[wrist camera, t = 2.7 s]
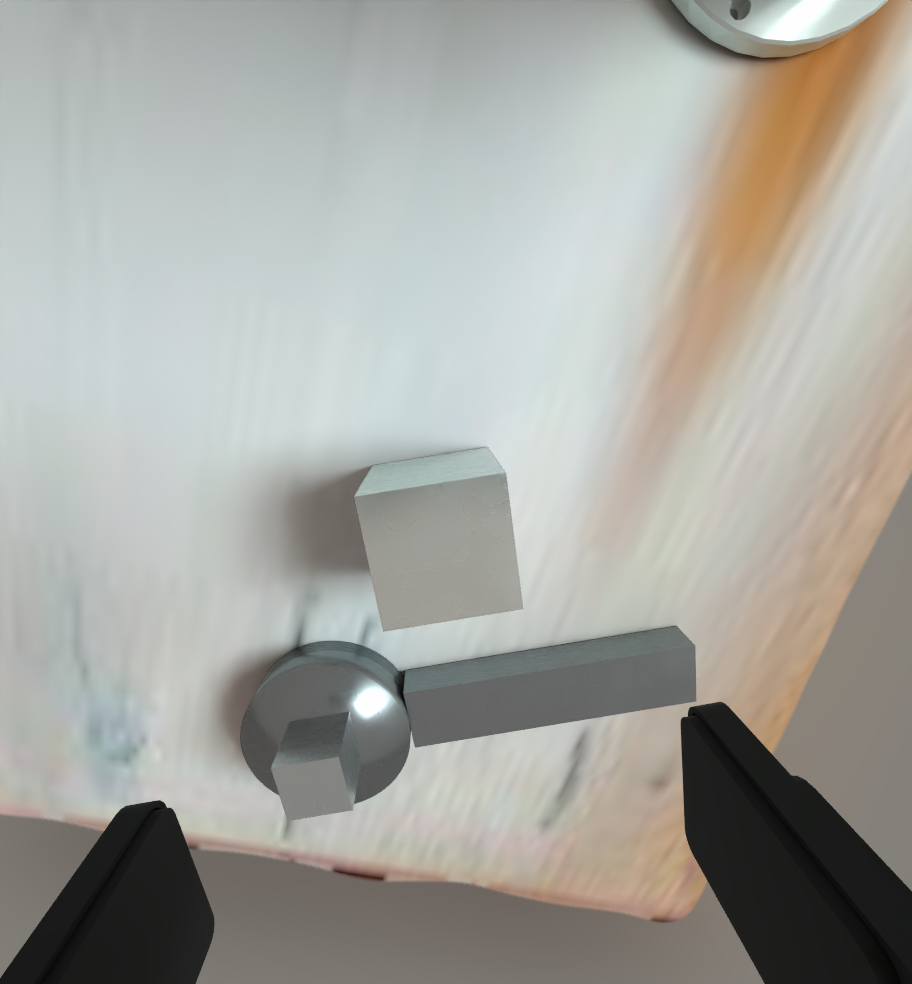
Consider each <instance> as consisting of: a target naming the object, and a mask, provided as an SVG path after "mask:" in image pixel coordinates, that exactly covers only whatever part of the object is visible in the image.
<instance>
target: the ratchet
mask: <svg viewBox="0 0 912 984" xmlns="http://www.w3.org/2000/svg"><path fill="white" fill-rule="evenodd" d="M695 701H696V663H695V645H694V644H693V643H692V642H691V641H690V640H689V639H688V638H687V636H686V635H685V634H684V633H683V632H682V631H681V630H680V629H679V628H678V627H677V626H674V627H668V628H662V629H655V630H649V631H643V632H637V633H631V634H625V635H619V636H612V637H606V638H600V639H594V640H588V641H582V642H576V643H569V644H563V645H557V646H551V647H545V648H539V649H533V650H526V651H520V652H514V653H508V654H502V655H496V656H490V657H484V658H477V659H471V660H465V661H459V662H453V663H447V664H441V665H434V666H428V667H422V668H416V669H410V670H405V680H404V678H403V676H402V675H401V673H400V672H399V671H398V670H397V668H396V667H395V666H394V665H393V664H392V663H391V662H389V661H388V660H387V659H386V658H384V657H383V656H382V655H380V654H379V653H377V652H375V651H373V650H371V649H369V648H366V647H363V646H361V645H357V644H353V643H349V642H341V641H325V642H317V643H312V644H308V645H305V646H302V647H299V648H297V649H295V650H293V651H291V652H289V653H288V654H286V655H285V656H283V657H282V658H280V659H279V660H278V661H277V662H276V663H275V664H274V665H273V666H272V667H271V668H270V670H269V671H268V672H267V674H266V676H265V677H264V679H263V681H262V682H261V684H260V686H259V688H258V690H257V692H256V694H255V695H254V697H253V699H252V701H251V703H250V705H249V707H248V708H247V711H246V713H245V715H244V718H243V721H242V725H241V734H240V739H241V747H242V751H243V755H244V758H245V760H246V762H247V764H248V766H249V768H250V769H251V771H252V772H253V774H254V775H255V776H256V777H257V779H258V780H259V781H260V782H262V783H263V784H264V785H265V786H266V787H267V788H269V789H270V790H271V791H273V792H274V793H276V794H278V795H279V796H280V799H281V802H282V805H283V808H284V811H285V814H286V817H287V821H290V820H296V819H302V818H308V817H314V816H320V815H326V814H332V813H338V812H344V811H351V810H353V806H354V804H356V803H359V802H362V801H364V800H367V799H369V798H371V797H373V796H375V795H376V794H378V793H379V792H381V791H382V790H384V789H385V788H386V787H387V786H389V785H390V784H391V783H392V782H393V781H394V780H395V779H396V777H397V776H398V774H399V773H400V772H401V770H402V768H403V766H404V764H405V762H406V759H407V757H408V753H409V748H410V735H411V731H412V736H413V741H414V745H415V747H421V746H427V745H433V744H439V743H445V742H451V741H457V740H463V739H469V738H476V737H482V736H488V735H494V734H500V733H506V732H512V731H518V730H524V729H530V728H536V727H543V726H549V725H555V724H561V723H567V722H573V721H579V720H585V719H591V718H597V717H603V716H609V715H616V714H622V713H628V712H634V711H640V710H646V709H652V708H658V707H664V706H670V705H676V704H682V703H689V702H695Z"/></svg>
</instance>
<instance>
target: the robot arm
mask: <svg viewBox="0 0 912 984" xmlns="http://www.w3.org/2000/svg"><path fill="white" fill-rule="evenodd" d="M671 1H672V2H673V3H674V4H675V6H676V7H677V8H678V9H679V10H680V12H681V13H682V14H683V15H684V17H685V18H686V19H687V20H688V22H689V23H690V24H692V25H693V26H694V27H695V28H697V29H698V30H699V31H700V32H702V33H703V34H704V35H705V36H707V37H708V38H709V39H710V40H712V41H714V42H716V43H718V44H720V45H722V46H724V47H726V48H728V49H730V50H733V51H735V52H738V53H742V54H747V55H752V56H757V57H762V58H766V57H790V56H794V55H798V54H801V53H805V52H809V51H813V50H816V49H819V48H821V47H823V46H825V45H827V44H829V43H831V42H833V41H835V40H837V39H839V38H841V37H843V36H844V35H846V34H847V33H848V32H850V31H851V30H852V29H854V28H855V27H856V26H858V25H859V24H860V23H862V22H863V21H864V20H866V19H867V18H868V17H870V16H871V15H872V14H874V13H875V12H876V11H877V10H878V9H879V8H880V7H882V6H883V5H884V4H885V3H886V2H887V1H888V0H671ZM681 743H682V768H683V793H684V817H685V833H686V837H687V841H688V844H689V846H690V849H691V851H692V853H693V855H694V857H695V859H696V861H697V863H698V864H699V866H700V868H701V870H702V872H703V873H704V875H705V877H706V879H707V881H708V882H709V884H710V886H711V888H712V889H713V891H714V893H715V895H716V897H717V898H718V900H719V902H720V904H721V906H722V908H723V909H724V911H725V913H726V914H727V916H728V918H729V920H730V922H731V923H732V925H733V927H734V929H735V931H736V933H737V934H738V936H739V938H740V940H741V942H742V943H743V945H744V947H745V949H746V951H747V952H748V954H749V956H750V958H751V960H752V961H753V963H754V965H755V967H756V969H757V970H758V972H759V974H760V976H761V977H762V979H763V981H764V983H765V984H912V891H911V890H910V889H909V888H908V887H907V886H906V885H905V884H904V883H903V882H902V881H901V880H900V879H899V877H898V876H897V875H896V874H895V873H894V872H893V871H892V870H891V869H890V868H889V867H888V866H887V865H886V864H885V863H884V861H883V860H882V859H881V858H880V857H879V856H878V855H877V854H876V853H875V852H874V851H873V850H872V849H871V848H870V847H869V846H868V844H867V843H866V842H865V841H864V840H863V839H862V838H861V837H860V836H859V835H858V834H857V833H856V832H855V831H854V830H853V829H852V827H851V826H850V825H849V824H848V823H847V822H846V821H845V820H844V819H843V818H842V817H841V816H840V815H839V814H838V813H837V812H836V810H835V809H834V808H833V807H832V806H831V805H830V804H829V803H828V802H827V801H826V800H825V799H824V798H823V797H822V796H821V794H820V793H818V791H817V790H816V789H815V788H813V786H812V785H810V784H809V783H808V782H807V781H806V780H804V779H802V778H800V777H798V776H791V775H790V774H789V773H788V772H787V770H786V769H785V768H784V767H783V766H782V765H781V764H780V763H779V762H778V761H777V759H776V758H775V757H774V756H773V755H772V754H771V753H770V752H769V751H768V750H767V748H766V747H765V746H764V745H763V744H762V743H761V742H760V741H759V740H758V739H757V738H756V736H755V735H754V734H753V733H752V732H751V731H750V730H749V729H748V728H747V727H746V725H745V724H744V723H743V722H742V721H741V720H740V719H739V718H738V717H737V716H736V714H735V713H734V712H733V711H732V710H731V709H730V708H729V707H728V706H727V705H726V704H725V703H722V702H717V703H711V704H706V705H700V706H694V707H690V708H689V710H688V717H683V718H682V719H681ZM213 932H214V916H213V912H212V910H211V907H210V904H209V902H208V899H207V897H206V894H205V891H204V889H203V886H202V883H201V881H200V878H199V875H198V873H197V870H196V867H195V865H194V862H193V859H192V857H191V855H190V851H189V849H188V846H187V843H186V841H185V838H184V835H183V833H182V830H181V827H180V825H179V822H178V820H177V817H176V814H175V812H174V810H173V809H171V808H167V807H166V805H165V803H164V802H162V801H160V800H159V801H152V802H146V803H140V804H135V805H129V806H125V807H124V808H122V809H121V810H120V811H119V812H118V813H117V814H116V815H115V817H114V818H113V820H112V821H111V822H110V824H109V825H108V827H107V828H106V830H105V831H104V832H103V834H102V835H101V837H100V838H99V839H98V841H97V843H96V844H95V845H94V847H93V848H92V850H91V851H90V852H89V854H88V855H87V856H86V858H85V859H84V861H83V862H82V863H81V865H80V866H79V868H78V869H77V871H76V872H75V873H74V875H73V876H72V878H71V879H70V880H69V882H68V883H67V885H66V886H65V888H64V889H63V890H62V892H61V893H60V895H59V896H58V897H57V899H56V900H55V902H54V903H53V904H52V906H51V907H50V909H49V910H48V912H47V913H46V914H45V916H44V917H43V919H42V920H41V922H40V923H39V924H38V926H37V927H36V929H35V930H34V931H33V933H32V934H31V935H30V937H29V938H28V940H27V941H26V943H25V944H24V946H23V947H22V948H21V950H20V951H19V952H18V954H17V955H16V957H15V958H14V959H13V961H12V962H11V964H10V965H9V967H8V968H7V969H6V971H5V972H4V974H3V975H2V977H1V978H0V984H196V981H197V978H198V976H199V973H200V971H201V968H202V965H203V962H204V960H205V957H206V955H207V952H208V949H209V947H210V944H211V941H212V938H213Z"/></svg>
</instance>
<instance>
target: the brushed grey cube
mask: <svg viewBox="0 0 912 984" xmlns="http://www.w3.org/2000/svg"><path fill="white" fill-rule="evenodd" d="M354 500H355V504H356V509H357V513H358V518H359V523H360V527H361V532H362V536H363V541H364V545H365V550H366V555H367V559H368V564H369V568H370V573H371V578H372V582H373V587H374V591H375V596H376V600H377V605H378V610H379V614H380V619H381V623H382V628H383V632H384V631H390V630H396V629H402V628H409V627H415V626H421V625H427V624H433V623H439V622H446V621H452V620H458V619H464V618H470V617H476V616H483V615H489V614H495V613H501V612H507V611H513V610H520V609H523V603H522V595H521V587H520V579H519V572H518V564H517V556H516V548H515V540H514V532H513V524H512V516H511V508H510V501H509V493H508V485H507V477H506V472H505V470H504V469H503V468H502V466H501V465H500V463H499V462H498V460H497V459H496V457H495V456H494V455H493V453H492V452H491V450H490V449H489V447H484V448H478V449H472V450H466V451H459V452H453V453H447V454H440V455H434V456H428V457H422V458H415V459H409V460H403V461H396V462H390V463H384V464H378V465H372V467H371V469H370V470H369V472H368V474H367V476H366V477H365V479H364V481H363V482H362V484H361V486H360V487H359V489H358V491H357V492H356V494H355V496H354Z"/></svg>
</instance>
